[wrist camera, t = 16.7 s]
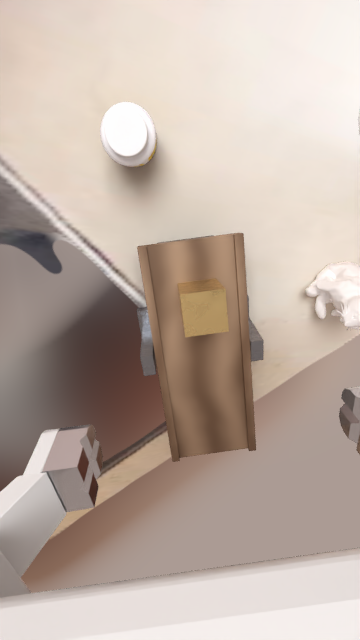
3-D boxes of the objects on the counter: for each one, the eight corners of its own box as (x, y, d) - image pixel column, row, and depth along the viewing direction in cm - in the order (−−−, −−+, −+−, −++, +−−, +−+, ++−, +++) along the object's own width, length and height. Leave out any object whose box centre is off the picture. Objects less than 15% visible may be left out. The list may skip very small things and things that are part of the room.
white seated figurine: (360, 282, 48) (419, 314, 37) (310, 311, 49) (353, 350, 39) (346, 249, 45) (405, 273, 34) (294, 281, 47) (335, 314, 36)
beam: (237, 232, 37) (243, 233, 34) (250, 436, 46) (256, 450, 44) (139, 245, 37) (137, 247, 34) (172, 447, 46) (172, 461, 43)
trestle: (245, 231, 43) (268, 247, 34) (247, 338, 51) (266, 374, 42) (125, 247, 43) (116, 267, 34) (145, 352, 51) (143, 391, 42)
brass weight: (215, 278, 36) (225, 288, 31) (219, 314, 38) (228, 331, 32) (177, 283, 36) (179, 294, 31) (182, 319, 38) (185, 337, 32)
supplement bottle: (141, 104, 36) (136, 82, 27) (164, 152, 38) (167, 147, 29) (101, 130, 37) (83, 116, 27) (126, 175, 39) (116, 177, 30)
